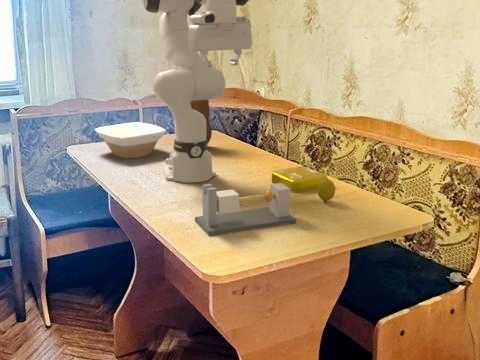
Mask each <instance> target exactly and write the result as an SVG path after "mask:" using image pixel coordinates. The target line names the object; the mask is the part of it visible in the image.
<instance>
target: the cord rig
mask: <svg viewBox="0 0 480 360" xmlns="http://www.w3.org/2000/svg"><path fill="white" fill-rule="evenodd" d="M217 191H218V190H217V188H216V187H213V185H212V183H208V184H202V216H201V215H200V216H194V222H195V223H196V224H197V225H198V226H199V227H200V228H201V230H203V231H204V232H205V234H207V235H208V237H209V236H216V235H221V234H228V233H229V234H230V233H236V232H243V231H248V230H250V231H251V230H255V229H256V230H257V229H263V228H268V227H276V226H282V225H289V224H296V223H297V218H296V217H294V216H293V215H291V214H290V206H291V205H290V204H291V202H290V201H291V192H290V188H288V187H287V186H285V185H284V184H282V183H276V184H273V183H270V185H269V190H266V191H265V192H264V194H257V195H249V196H243V197H242V196H241V197H240V196H239V202H245V203H246V202H253V201H260V200H261V201H262V200H265V201H266V202H267V203H268V202H269V206H268V207H261V208H253V209H245V210H239V211H238V212H231V213H223V214H219V213H218V212H217V205H218V200H217Z"/></svg>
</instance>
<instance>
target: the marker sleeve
mask: <svg viewBox="0 0 480 360" xmlns="http://www.w3.org/2000/svg"><path fill="white" fill-rule="evenodd" d="M216 191H217V200H218V205H217V214H223V213H231V212H238V211H240V203H239V197H240V194H239V193H238V192H237V191H236V190H234V189H225V190H219V191H218V190H216Z"/></svg>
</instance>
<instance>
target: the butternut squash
mask: <svg viewBox="0 0 480 360" xmlns="http://www.w3.org/2000/svg"><path fill="white" fill-rule="evenodd" d="M190 104H191V108H192V109H193V110H196V111H198V112H200V113H201V114H203V115H204V117H205V119H206V138H207V141H208V144H209V142H210V141H211V139H212V136H213V133H212V132H213V131H212V127H211V123H210V114H211V113H210V111H211V110H210V103H209V100H195V101H190Z"/></svg>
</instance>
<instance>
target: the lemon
mask: <svg viewBox="0 0 480 360" xmlns="http://www.w3.org/2000/svg"><path fill="white" fill-rule="evenodd" d="M316 191H317V195H318V198H320V200H322V201H323V202H324V203H328V201H330V200H332V199H333V198H334V196H335V193H336V187H335V184H334V181H333V180H331V179H329V178H328V177H327V178H326V179H324V180H322V181H321V182H320V183H319V185H318V189H316Z"/></svg>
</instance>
